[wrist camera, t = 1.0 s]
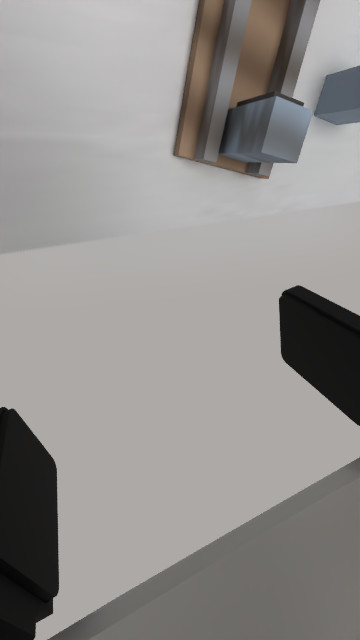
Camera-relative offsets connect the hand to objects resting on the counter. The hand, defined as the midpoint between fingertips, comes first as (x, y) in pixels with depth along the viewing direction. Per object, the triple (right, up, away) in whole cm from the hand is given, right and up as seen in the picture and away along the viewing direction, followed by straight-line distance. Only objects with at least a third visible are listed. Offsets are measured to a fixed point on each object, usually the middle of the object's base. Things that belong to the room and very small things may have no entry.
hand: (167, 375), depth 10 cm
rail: (+7, +29, +21) cm, 36 cm away
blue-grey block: (+19, +29, +26) cm, 43 cm away
